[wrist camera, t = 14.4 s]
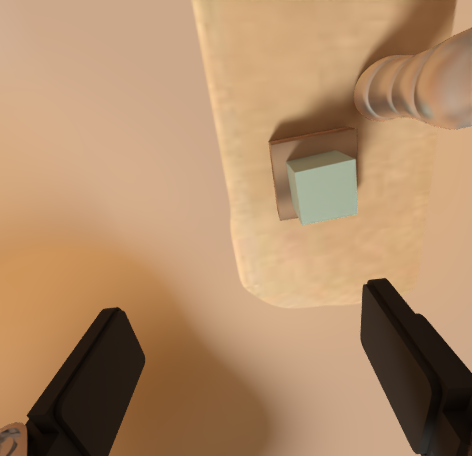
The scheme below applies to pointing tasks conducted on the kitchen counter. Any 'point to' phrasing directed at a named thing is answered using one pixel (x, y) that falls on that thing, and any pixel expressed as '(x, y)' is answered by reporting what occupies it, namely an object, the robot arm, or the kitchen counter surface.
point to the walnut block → (301, 148)
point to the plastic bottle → (421, 85)
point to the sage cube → (323, 186)
